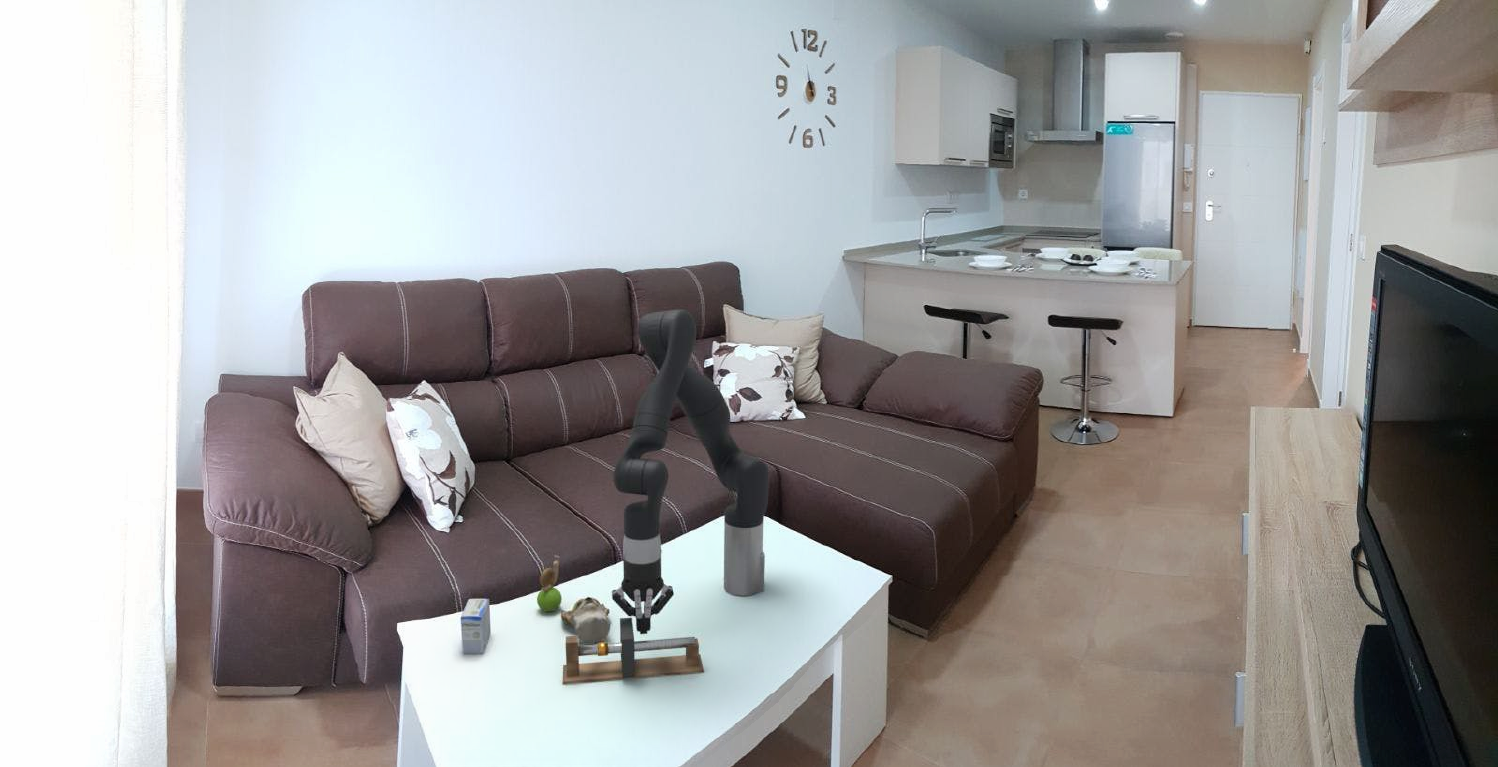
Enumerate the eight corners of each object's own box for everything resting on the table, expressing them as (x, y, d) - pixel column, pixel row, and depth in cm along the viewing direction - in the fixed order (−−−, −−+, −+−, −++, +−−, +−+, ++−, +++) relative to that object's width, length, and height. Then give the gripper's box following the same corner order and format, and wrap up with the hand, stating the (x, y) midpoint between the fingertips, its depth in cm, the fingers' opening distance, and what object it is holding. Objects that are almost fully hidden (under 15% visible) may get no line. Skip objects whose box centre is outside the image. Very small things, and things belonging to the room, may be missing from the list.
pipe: (694, 644, 192) (694, 632, 192) (695, 650, 190) (695, 639, 189) (569, 654, 188) (569, 642, 187) (569, 661, 185) (569, 649, 185)
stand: (700, 656, 195) (700, 622, 193) (703, 672, 189) (704, 636, 187) (563, 667, 190) (561, 632, 188) (562, 684, 185) (561, 648, 182)
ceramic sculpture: (569, 614, 194) (557, 586, 207) (571, 653, 195) (558, 623, 209) (620, 606, 197) (604, 579, 211) (621, 644, 199) (605, 615, 213)
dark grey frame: (632, 654, 194) (631, 617, 191) (634, 676, 186) (634, 638, 183) (620, 655, 193) (619, 618, 191) (622, 677, 185) (621, 639, 183)
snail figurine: (569, 605, 215) (567, 557, 212) (552, 618, 210) (550, 568, 206) (549, 600, 217) (548, 552, 214) (532, 612, 212) (530, 563, 209)
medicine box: (470, 634, 202) (467, 598, 200) (491, 634, 203) (489, 597, 200) (462, 654, 195) (459, 616, 192) (484, 653, 195) (481, 616, 193)
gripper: (673, 544, 192) (673, 620, 196) (608, 548, 189) (609, 625, 194) (677, 560, 185) (677, 639, 189) (609, 564, 182) (611, 644, 187)
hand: (643, 632), depth 191 cm, fingers closed
